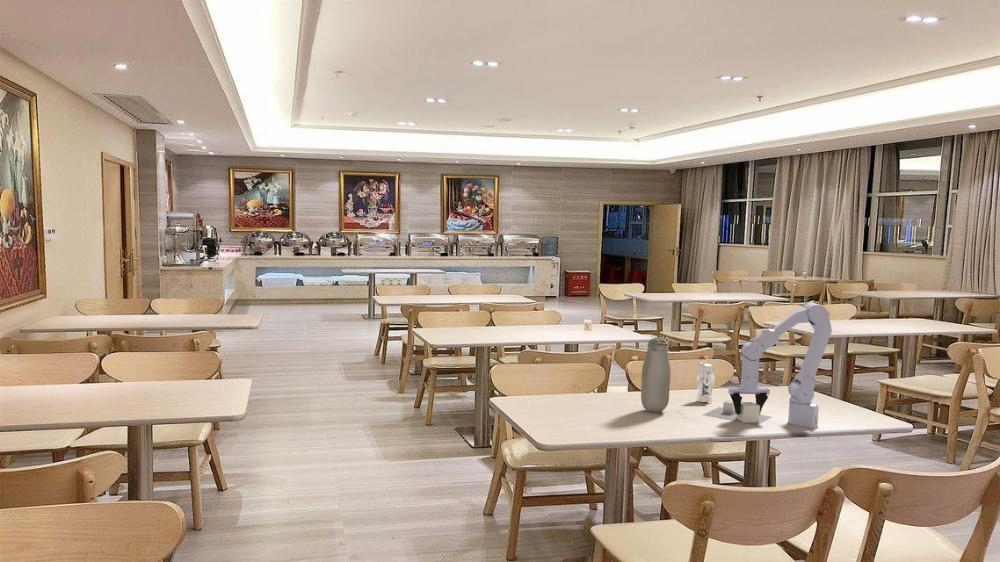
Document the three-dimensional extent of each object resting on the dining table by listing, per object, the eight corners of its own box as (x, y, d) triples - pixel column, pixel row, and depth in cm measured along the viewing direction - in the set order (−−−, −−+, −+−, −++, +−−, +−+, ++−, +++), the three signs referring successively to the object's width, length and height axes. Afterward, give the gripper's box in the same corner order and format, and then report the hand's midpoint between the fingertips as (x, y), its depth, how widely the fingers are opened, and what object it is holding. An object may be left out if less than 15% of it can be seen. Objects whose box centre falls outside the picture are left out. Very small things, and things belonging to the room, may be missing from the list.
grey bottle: (657, 416, 266) (660, 340, 264) (635, 410, 274) (638, 336, 272) (673, 412, 272) (677, 338, 270) (652, 407, 280) (655, 334, 278)
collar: (751, 418, 263) (752, 401, 263) (759, 422, 257) (760, 405, 257) (736, 418, 262) (737, 401, 262) (743, 422, 257) (744, 405, 256)
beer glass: (699, 398, 297) (701, 362, 296) (716, 401, 293) (718, 364, 292) (692, 401, 292) (694, 364, 291) (709, 404, 287) (710, 366, 286)
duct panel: (772, 420, 266) (772, 416, 266) (757, 428, 253) (757, 425, 253) (718, 410, 278) (719, 407, 278) (702, 418, 266) (702, 414, 265)
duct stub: (735, 415, 271) (736, 401, 270) (732, 417, 268) (733, 403, 268) (726, 413, 273) (727, 400, 273) (722, 415, 270) (723, 401, 270)
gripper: (763, 374, 263) (761, 411, 264) (725, 373, 262) (723, 410, 263) (773, 378, 256) (771, 416, 257) (734, 377, 255) (731, 416, 256)
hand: (747, 413), depth 260 cm, fingers open, 7 cm apart
